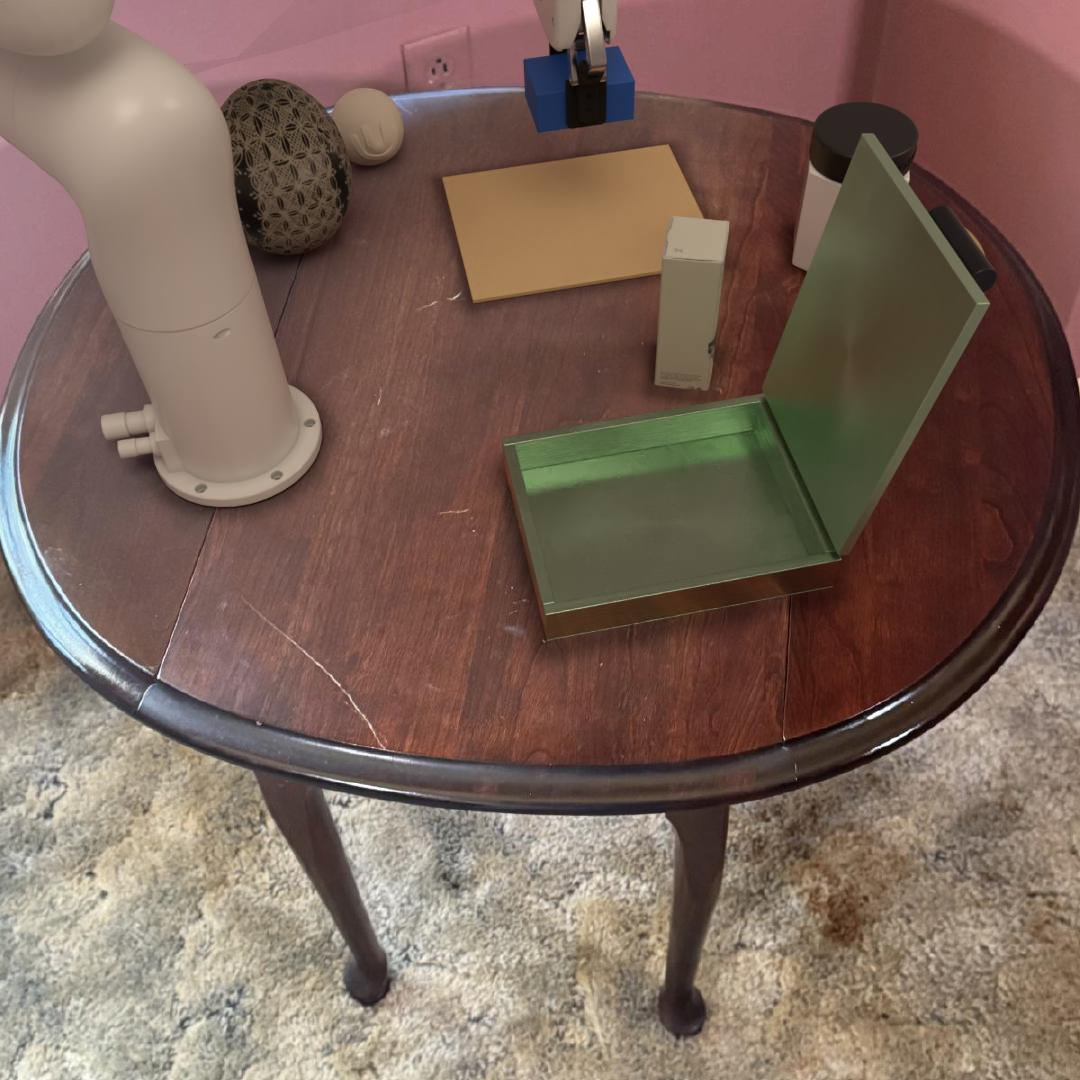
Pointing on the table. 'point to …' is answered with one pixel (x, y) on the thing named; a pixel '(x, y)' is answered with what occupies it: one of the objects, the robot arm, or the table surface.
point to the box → (690, 301)
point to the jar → (844, 163)
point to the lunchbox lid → (872, 338)
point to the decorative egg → (286, 167)
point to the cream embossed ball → (368, 125)
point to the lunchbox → (664, 516)
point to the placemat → (566, 221)
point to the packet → (549, 89)
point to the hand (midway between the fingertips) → (577, 101)
